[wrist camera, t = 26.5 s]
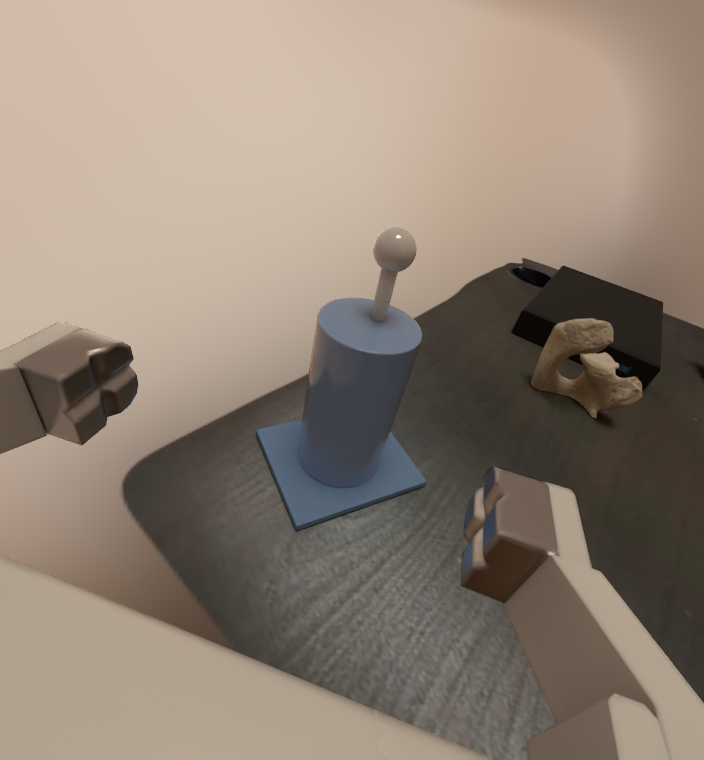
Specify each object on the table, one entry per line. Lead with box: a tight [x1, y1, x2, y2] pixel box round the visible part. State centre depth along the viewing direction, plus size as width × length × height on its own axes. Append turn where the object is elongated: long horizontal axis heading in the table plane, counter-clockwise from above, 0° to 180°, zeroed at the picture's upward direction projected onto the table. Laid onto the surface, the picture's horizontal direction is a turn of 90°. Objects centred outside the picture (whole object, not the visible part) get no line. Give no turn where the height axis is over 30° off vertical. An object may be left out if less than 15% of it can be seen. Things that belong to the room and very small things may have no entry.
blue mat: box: [256, 420, 427, 531], centre depth 26 cm, size 9×8×1 cm
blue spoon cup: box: [298, 227, 422, 488], centre depth 22 cm, size 5×5×15 cm
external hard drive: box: [512, 266, 663, 391], centre depth 51 cm, size 14×23×3 cm, turn 145°
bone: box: [531, 318, 642, 419], centre depth 35 cm, size 9×6×10 cm
